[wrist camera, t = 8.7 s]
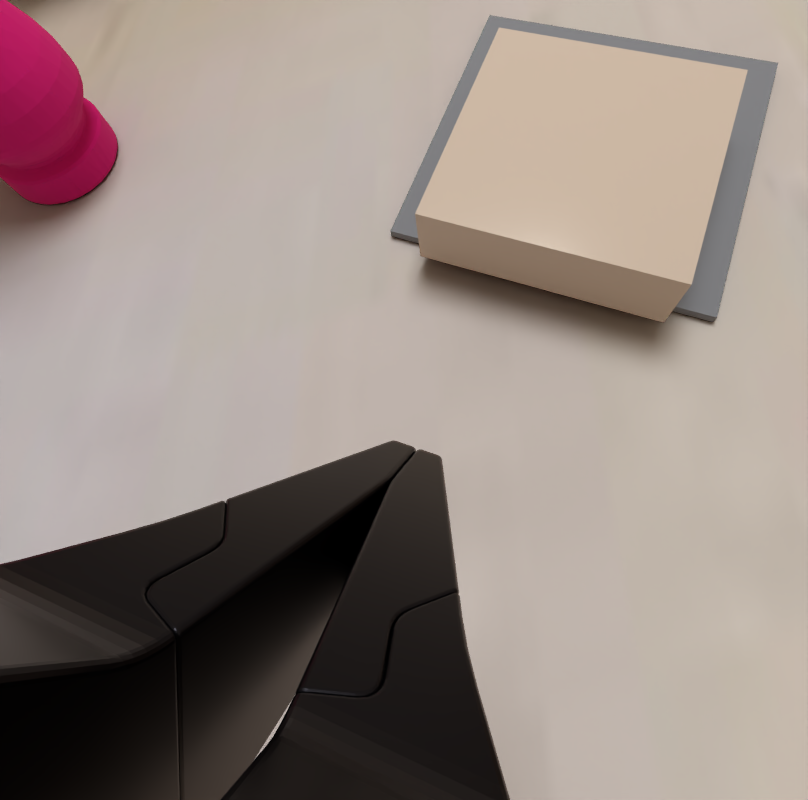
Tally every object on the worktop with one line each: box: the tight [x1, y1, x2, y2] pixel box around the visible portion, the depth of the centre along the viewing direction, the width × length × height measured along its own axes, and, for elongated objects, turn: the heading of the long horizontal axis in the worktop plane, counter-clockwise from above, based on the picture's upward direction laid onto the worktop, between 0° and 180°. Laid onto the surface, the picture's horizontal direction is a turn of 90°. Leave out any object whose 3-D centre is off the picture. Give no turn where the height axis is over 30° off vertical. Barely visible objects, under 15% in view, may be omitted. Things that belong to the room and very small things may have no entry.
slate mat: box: [391, 15, 778, 322], centre depth 27 cm, size 15×15×1 cm
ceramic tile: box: [415, 28, 748, 323], centre depth 24 cm, size 3×11×11 cm
